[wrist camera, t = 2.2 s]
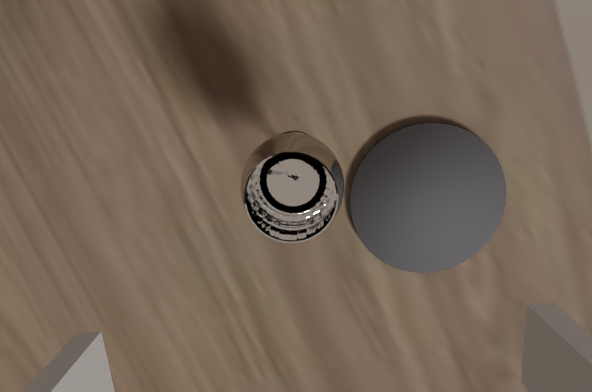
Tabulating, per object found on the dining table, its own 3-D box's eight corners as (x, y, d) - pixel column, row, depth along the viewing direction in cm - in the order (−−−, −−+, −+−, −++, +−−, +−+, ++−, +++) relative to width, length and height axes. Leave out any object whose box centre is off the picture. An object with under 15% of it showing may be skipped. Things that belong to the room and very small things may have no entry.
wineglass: (310, 209, 32) (315, 272, 20) (245, 176, 32) (212, 222, 20) (345, 145, 31) (372, 174, 19) (279, 109, 30) (264, 117, 19)
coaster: (344, 130, 31) (345, 130, 30) (504, 115, 30) (508, 115, 30) (354, 275, 33) (355, 278, 33) (500, 263, 33) (503, 266, 32)
